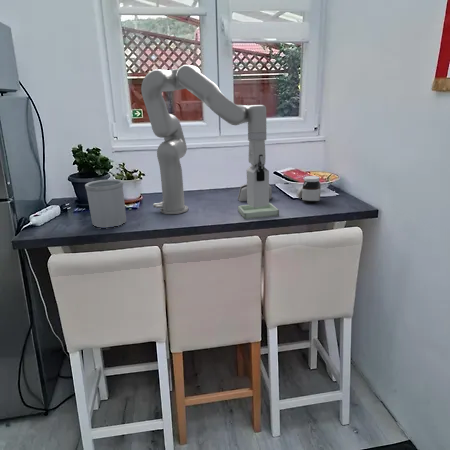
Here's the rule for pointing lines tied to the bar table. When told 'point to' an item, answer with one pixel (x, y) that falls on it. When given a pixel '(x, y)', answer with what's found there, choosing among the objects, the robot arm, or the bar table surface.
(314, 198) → the spread jar
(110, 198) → the utensil holder
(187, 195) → the bar table surface
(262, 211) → the tray
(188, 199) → the bar table surface
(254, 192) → the milk carton
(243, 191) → the grey piece
